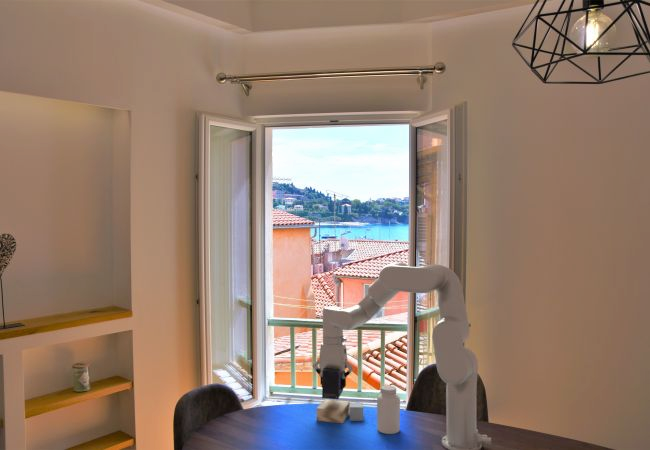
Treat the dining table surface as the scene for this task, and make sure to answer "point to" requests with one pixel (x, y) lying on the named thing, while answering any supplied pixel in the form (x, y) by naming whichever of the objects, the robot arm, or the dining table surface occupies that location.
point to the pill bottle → (388, 410)
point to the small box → (331, 383)
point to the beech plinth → (333, 411)
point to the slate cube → (356, 411)
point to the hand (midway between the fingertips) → (333, 387)
